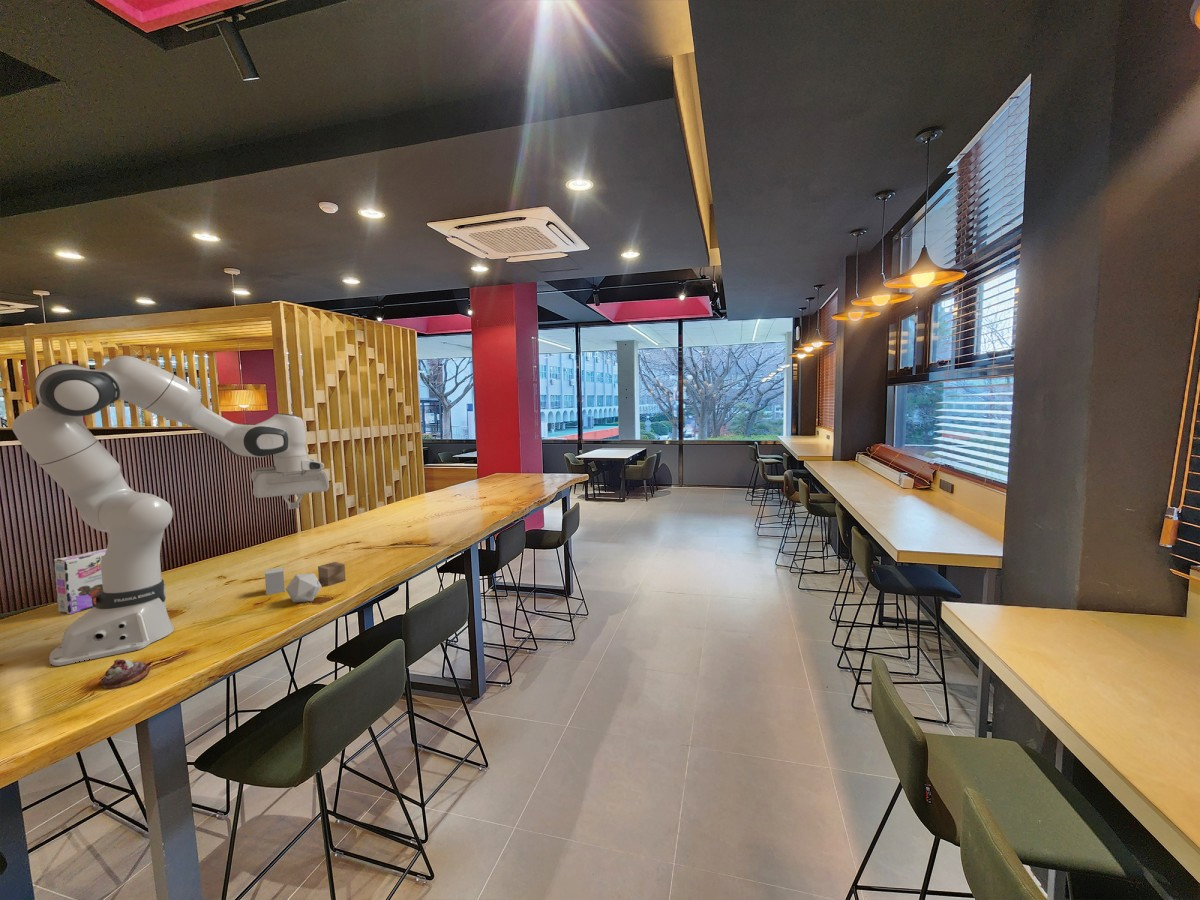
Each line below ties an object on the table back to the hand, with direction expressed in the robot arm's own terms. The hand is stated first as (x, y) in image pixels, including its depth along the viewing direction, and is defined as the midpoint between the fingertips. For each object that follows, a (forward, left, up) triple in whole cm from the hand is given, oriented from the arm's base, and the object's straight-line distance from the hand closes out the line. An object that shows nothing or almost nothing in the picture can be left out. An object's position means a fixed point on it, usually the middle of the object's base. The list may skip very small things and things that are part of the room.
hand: (293, 508), depth 152 cm
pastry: (-39, -29, -29) cm, 57 cm away
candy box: (-47, +38, -29) cm, 67 cm away
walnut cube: (+12, +7, -29) cm, 32 cm away
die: (+1, -5, -29) cm, 29 cm away
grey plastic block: (-4, +11, -29) cm, 31 cm away
